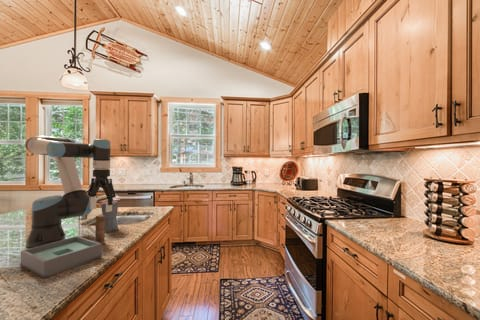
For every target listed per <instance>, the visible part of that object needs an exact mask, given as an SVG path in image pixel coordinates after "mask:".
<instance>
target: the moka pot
mask: <svg viewBox="0 0 480 320" xmlns="http://www.w3.org/2000/svg"><path fill="white" fill-rule="evenodd" d="M100 207H101V214H102V215H104V216H105V233H111V232H115V230H116V231H118V230H119V223H118V219H117V215H118V210H119V201H117V200H114V198H113V199H112V211H110V212H106V201H103V202H101V203H100Z"/></svg>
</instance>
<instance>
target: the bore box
mask: <svg viewBox="0 0 480 320" xmlns="http://www.w3.org/2000/svg"><path fill="white" fill-rule="evenodd" d="M102 246H103V244H101V243H98V242H95V241H94V240H92V239H87V238H84V237H81V236H78V235H76V236H71V237H69V238H65V239H64V240H60V241H57V242H53V243H49V244H45V245H41V246H37V247H29V248H27V249H22V250H20V260H19V261H20V263H19V264H20V267H21V268H23V269H25V270H27V271H29V272H31V273H33V274H35V275H36V276H38V277H40V278H42V279H43V278H44V279H46V278H49V277H51V276H52V277H53V276H55V275H57V274H60V273H63V272H66V271H68V270H71V269H73V268H76V267H79V266H81V265H84V264H86V263H90V262H93V261H95V260H98V259H101V258H102V253H103V252H102V251H103V250H102Z"/></svg>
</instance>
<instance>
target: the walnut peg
mask: <svg viewBox="0 0 480 320" xmlns="http://www.w3.org/2000/svg"><path fill="white" fill-rule="evenodd" d="M94 232H95V234H94V235H95V238H94V240H95V242H98V243H101V244H102V245H104V244H105V242H106V241H105V239H106V238H105V234H106V232H105V216H104V215H96V216H95V231H94Z"/></svg>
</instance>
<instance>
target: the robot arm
mask: <svg viewBox="0 0 480 320" xmlns="http://www.w3.org/2000/svg"><path fill="white" fill-rule="evenodd" d="M25 148H26V150H27V151H28V152H30V153H32V154H34V155H42V156H49V157H51V159H52V160H53V161H55V162H56V166H57V170H58V173H59V177H60V181H61V185H62V189H63V192H64V194H63V195H61V194H60V195H50V196H44V197H41V198H40V197H39V198H37V199H35V200H33V202H32V204H31V209H30V210H31V229H30V232H29V233H28V237H27V239H26V241H25V247H27V248H34V247H37V246H41V245H45V244H49V243H53V242H57V241H60V240H64V239H66V233H65V231H64V229H63V226H62V221H63V220H65V219H71V218H77V217H78V218H79V217H82V216H87V215H89V214H91V213H92V211H93V210H96V209H97V200H98V199H97V193H98V191H99V190H100V188H101V189H102V190H103V192H104V194H105V197H106V198H105V202H106V212H110V211H112V199H113V200H114V198H116V196H117V195H116V191H115V189H114V186H113V185H114V184H113V180H112V178H109V177H110V176H111V170H110V168H111V148H112V147H111V140H109V139H106V138H105V139H102V138H95V139H93V142H92V143H80V142H77V141H76V140H74V139H73V138H69V137H60V136H50V135H35V136H32V137H29V138H28V139H27V140H26V142H25ZM74 158H81V159H82V158H83V159H92V169H93V170H92V178H91V180H90V184H89V189H88V191H87V190H85V189H84V188H83V187H82V183H81V179H80V176H79V172H78V169H77V165H76V161H75V159H74Z"/></svg>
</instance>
